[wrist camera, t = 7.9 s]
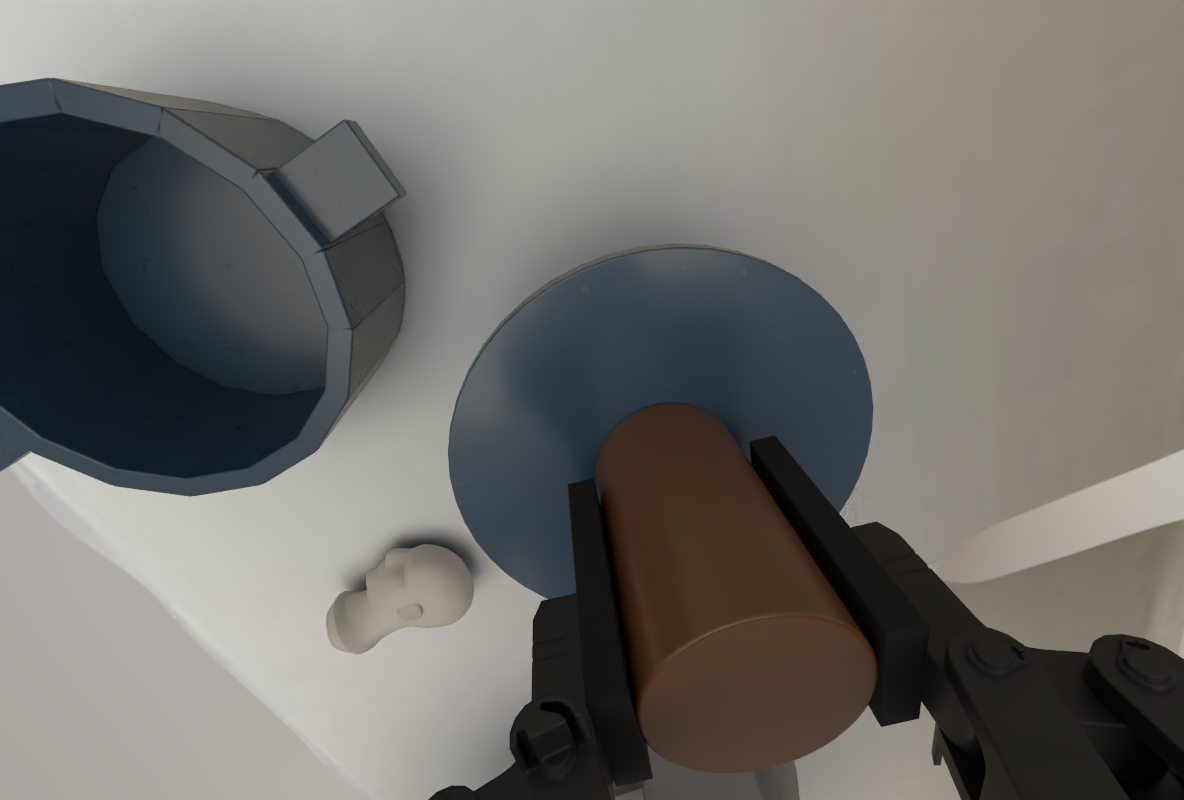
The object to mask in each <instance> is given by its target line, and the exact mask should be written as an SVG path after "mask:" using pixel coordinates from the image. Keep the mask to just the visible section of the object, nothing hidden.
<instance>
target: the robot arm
mask: <svg viewBox="0 0 1184 800" xmlns="http://www.w3.org/2000/svg"><path fill="white" fill-rule="evenodd" d="M749 444H750V455H751V465H752V466H753V468H754V469H755V471H756V472H757V474H758V475H759V477H760V478H761V480H762V481H763V483H764V484H765V486H766V487H767V489H768V490H769V492H770V493H771V495H772V496H773V498H774V499H775V501H776V502H777V504H778V505H779V507H780V508H781V510H782V511H783V513H784V514H785V516H786V517H787V519H788V520H789V522H790V524H791V525H792V527H793V528H794V530H795V531H796V533H797V534H798V536H799V537H800V539H801V540H802V542H803V543H804V545H805V546H806V548H807V549H808V551H809V552H810V554H811V555H812V557H813V558H814V560H815V561H816V563H817V564H818V566H819V567H820V569H821V570H822V572H823V573H824V575H825V576H826V578H827V579H828V581H829V582H830V584H831V585H832V587H833V588H834V590H835V591H836V593H837V594H838V596H839V597H840V599H841V600H842V602H843V603H844V605H845V606H846V608H847V609H848V611H849V612H850V614H851V615H852V617H853V618H854V620H855V621H856V623H857V624H858V626H859V627H860V629H861V630H862V632H863V633H864V635H865V636H866V638H867V639H868V641H869V642H870V644H871V645H872V647H873V649H874V652H875V654H876V657H877V663H878V670H879V671H878V682H877V685H876V689H875V692H874V694H873V696H872V699H871V701H870V702H869V704H868V705H869V707H870V709H871V710H872V712H873V714H874V715H875V717H876V719H877V721H878V722H879V724H880V726H881V727H883V726H888V725H892V724H896V723H901V722H905V721H910V720H914V719H918V718H919V715H920V706H921V701H922V703H923V704H924V705H925V707H926V708H927V710H928V711H929V713H930V714H931V716H932V717H933V719H934V720H935V721H936V724H935V731H934V738H933V745H932V757H933V762H934V765H941V759H942V755H943V757H944V759H945V762H946V764H947V767H948V769H949V771H950V774H951V776H952V779H953V781H954V783H955V786H956V788H957V790H958V793H959V795H960V798H961V800H1184V659H1182V658H1181V657H1179V656H1178V655H1176V654H1175V653H1173V652H1172V651H1170V650H1169V649H1167V648H1165V647H1163V646H1161V645H1158V644H1156V643H1153V642H1151V641H1148V640H1146V639H1143V638H1139V637H1134V636H1129V635H1124V634H1118V635H1105V636H1103V637H1101V638H1099V639H1097V640H1095V641H1094V642H1093V644H1092V647H1091V649H1090V652H1089V653H1084V652H1070V651H1056V650H1043V649H1036V648H1030V647H1026V646H1024V645H1023V644H1021V643H1020V642H1018V641H1017V640H1015V639H1014V638H1012V637H1011V636H1009V635H1007V634H1005V633H1002V632H999V631H997V630H994V629H991V628H987V627H986V626H985V625H983V624H982V623H981V622H980V621H979V620H978V619H977V618H976V617H975V616H974V615H973V614H972V612H971V611H970V610H969V609H968V608H967V607H966V606H965V605H964V604H963V603H962V602H961V601H960V600H959V598H958V597H957V596H956V595H955V594H954V593H953V592H952V591H951V590H950V589H949V588H948V587H947V586H946V584H945V583H944V582H943V581H942V580H941V579H940V578H939V577H938V576H937V575H936V574H935V573H934V572H933V570H932V569H931V568H930V569H929V568H928V566H927V564H926V563H925V562H924V561H923V560H922V559H921V558H920V556H919V555H918V554H917V555H916V554H915V552H914V550H913V549H912V548H911V547H910V546H909V545H908V544H907V542H906V541H905V540H904V539H903V538H902V537H901V536H900V535H899V534H898V533H896V532H894V531H892V530H891V529H889V528H887V527H885V526H884V525H882V524H880V523H878V522H873V523H869V524H864V525H860V526H856V527H851V528H850V527H849V525H848V524H847V523H846V522H845V520H844V519H843V518H842V517H841V515H840V514H839V513H838V512H837V511H836V509H835V508H834V507H833V506H832V504H831V503H830V502H829V501H828V500H827V498H826V497H825V496H824V495H823V493H822V492H821V491H820V490H819V489H818V487H817V486H816V485H815V484H814V482H813V481H812V480H811V479H810V478H809V476H808V475H807V474H806V473H805V471H804V470H803V469H802V468H801V466H800V465H799V464H798V463H797V462H796V460H795V459H794V458H793V457H792V455H791V454H790V453H789V452H788V451H787V449H786V448H785V447H784V446H783V444H782V443H781V442H780V441H779V440H778V438H777V437H776V436H775V435H774V436H770V437H766V438H761V439H757V440H753V441H749ZM568 495H569V508H570V520H571V532H572V544H573V557H574V569H575V581H576V593H574V594H570V595H566V596H561V597H557V598H553V599H548V600H544V601H541V603H540V606H539V608H538V610H537V612H536V615H535V617H534V619H533V647H532V658H533V662H532V701H531V702H530V703H528V704H527V705H525V706H524V708H523V709H522V710H521V711H520V713H519V714H518V715H517V717H516V718H515V720H514V723H513V726H512V728H511V731H510V750H511V752H512V754H513V756H514V758H515V760H516V762H515V763H514V764H513V765H512V766H511V767H510V768H509V769H507V770H506V771H505V772H504V773H502V774H501V775H499V776H498V777H496V778H495V779H493V780H491V781H490V782H488V783H487V784H485V785H483V786H482V787H480V788H479V789H477V790H475V791H472V790H471V789H469V788H467V787H466V786H449V787H447V788H445V789H443V790H440V791H438V792H436V793H435V794H434V795H433V796H432V797H431V798H430V799H428V800H800V798H799V790H798V781H797V773H796V767H795V764H794V760H793V761H791V762H788V763H785V764H782V765H778V766H775V767H771V768H767V769H762V770H757V771H750V772H743V773H709V772H701V771H696V770H691V769H687V768H684V767H681V766H678V765H676V764H674V763H671V762H669V761H667V760H666V759H664V758H662V757H661V756H659V755H658V754H657V753H656V752H655V751H653V750H652V749H651V748H650V746H649V745H648V744H647V743H646V741H645V740H644V738H643V736H642V734H641V732H640V729H639V726H638V722H637V718H636V713H635V707H634V701H633V695H632V689H631V683H630V677H629V671H628V665H627V659H626V653H625V647H624V641H623V636H622V630H621V624H620V618H619V612H618V606H617V600H616V594H615V588H614V582H613V576H612V570H611V564H610V558H609V552H608V546H607V541H606V535H605V529H604V523H603V517H602V511H601V506H600V502H599V499H598V495H597V491H596V487H595V484H594V480H593V478H592V479H588V480H584V481H580V482H576V483H571V484H568Z"/></svg>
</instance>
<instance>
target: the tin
mask: <svg viewBox="0 0 1184 800" xmlns="http://www.w3.org/2000/svg"><path fill="white" fill-rule="evenodd" d="M406 194H407V193H406V191H405V190H404V188H403V187H402V185H401V184H400V183H399V181H398V180H397V178H396V177H395V176H394V174H393V173H392V171H391V170H390V168H389V167H388V166H387V164H386V163H385V161H384V160H383V159H382V157H381V156H380V154H379V153H378V152H377V150H376V149H375V147H374V146H373V145H372V143H371V142H370V140H369V139H368V137H367V136H366V135H365V133H364V132H363V130H362V129H361V128H360V126H359V125H358V123H357V122H356V121H351V120H343V121H341V122H340V123H338V124H337V125H336V126H334V127H333V128H332V129H330V130H329V131H328V132H326V133H325V134H323V135H322V136H321V137H319V138H318V139H317V140H315V141H313V140H312V139H310V138H309V137H307V136H305V135H304V134H302V133H300V132H299V131H297V130H295V129H293V128H291V127H289V126H287V125H286V124H284V123H283V122H280V121H279V120H276V119H273V118H269V117H265V116H262V115H259V114H256V113H253V112H249V111H244V110H239V109H235V108H232V107H228V106H224V105H220V104H217V103H213V102H209V101H203V100H196V99H190V98H183V97H176V96H170V95H163V94H157V93H150V92H143V91H137V90H130V89H124V88H117V87H110V86H104V85H97V84H91V83H84V82H77V81H71V80H64V79H58V78H44V79H37V80H31V81H24V82H18V83H11V84H4V85H0V471H2V470H4V469H6V468H7V467H9V466H11V465H12V464H14V463H16V462H17V461H19V460H20V459H22V458H23V457H25V456H26V455H28V454H29V453H30V452H33V453H35V454H37V455H40V456H42V457H45V458H47V459H49V460H52V461H54V462H57V463H59V464H61V465H64V466H66V467H69V468H71V469H74V470H76V471H78V472H81V473H83V474H86V475H88V476H90V477H93V478H95V479H98V480H100V481H102V482H105V483H107V484H110V485H114V486H118V487H125V488H132V489H140V490H147V491H154V492H162V493H169V494H176V495H184V496H198V495H203V494H209V493H215V492H221V491H227V490H233V489H239V488H245V487H251V486H257V485H261V484H264V483H266V482H267V481H269V480H271V479H272V478H274V477H276V476H277V475H279V474H281V473H282V472H284V471H285V470H287V469H289V468H290V467H292V466H294V465H295V464H297V463H298V462H300V461H302V460H303V459H305V458H307V457H308V456H310V455H312V454H313V453H315V452H316V451H317V450H318V449H319V448H320V446H321V445H322V444H323V442H324V441H325V440H326V438H327V437H328V436H329V434H330V433H331V431H332V430H333V429H334V427H335V426H336V425H337V423H338V422H339V421H340V419H341V418H342V417H343V415H344V414H345V413H346V411H347V410H348V409H349V407H350V406H351V405H352V403H353V402H354V401H355V399H356V398H357V397H358V395H359V394H360V393H361V391H362V390H363V389H364V387H365V386H366V385H367V383H368V382H369V380H370V379H371V378H372V376H373V375H374V374H375V372H376V370H377V369H378V367H379V365H380V364H381V362H382V361H383V359H384V357H385V356H386V355H387V353H388V352H389V350H390V348H391V346H392V345H393V343H394V341H395V340H396V338H397V337H398V334H399V327H400V324H401V320H402V314H403V309H404V295H405V285H404V275H403V268H402V263H401V259H400V255H399V250H398V248H397V245H396V242H395V239H394V237H393V234H392V231H391V229H390V227H389V225H388V223H387V221H386V219H385V217H384V215H383V213H382V211H383V210H384V209H386V208H387V207H389V206H390V205H392V204H393V203H395V202H396V201H398V200H399V199H400V198H402V197H403V196H405V195H406Z"/></svg>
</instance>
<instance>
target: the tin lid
mask: <svg viewBox="0 0 1184 800" xmlns="http://www.w3.org/2000/svg"><path fill="white" fill-rule="evenodd" d="M872 418H873V401H872V392H871V382H870V379H869V375H868V371H867V368H866V364H865V360H864V357H863V355H862V353H861V351H860V348H859V346H858V344H857V342H856V340H855V338H854V335H853V334H852V332H851V331H850V329H849V328H848V327H847V325H846V324H845V322H844V321H843V319H842V318H841V316H840V315H839V313H838V312H837V311H836V310H835V309H834V308H833V307H832V306H831V305H830V304H829V303H828V302H827V301H826V300H825V299H824V298H823V297H822V296H821V295H820V294H819V293H818V292H816V291H815V290H814V289H812V288H811V287H810V286H808V285H807V284H806V283H804V282H803V281H802V280H800V279H799V278H798V277H796V276H794V275H792V274H790V273H788V272H786V271H784V270H782V269H781V268H779V267H777V266H775V265H773V264H771V263H769V262H767V261H765V260H762V259H759V258H756V257H753V256H750V255H748V254H745V253H742V252H739V251H735V250H730V249H724V248H719V247H714V246H708V245H692V244H667V245H656V246H645V247H639V248H635V249H631V250H626V251H622V252H618V253H613V254H609V255H607V256H604V257H601V258H599V259H596V260H593V261H591V262H588V263H585V264H583V265H580V266H578V267H576V268H574V269H572V270H571V271H569V272H567V273H565V274H563V275H561V276H559V277H557V278H556V279H554V280H552V281H550V282H549V283H547V284H546V285H545V286H543V287H542V288H540V289H539V290H538V291H536V292H535V293H533V294H532V295H531V296H529V297H528V298H526V299H525V300H524V301H523V302H522V303H521V304H520V305H519V306H518V307H517V308H515V309H514V310H513V311H512V312H511V313H510V314H509V315H508V316H507V317H506V318H505V319H504V320H503V321H502V322H501V323H500V324H499V326H498V327H497V328H496V329H495V331H494V332H493V333H492V334H491V336H490V337H489V338H488V339H487V341H486V342H485V343H484V344H483V346H482V348H481V349H480V351H479V353H478V355H477V356H476V358H475V360H474V361H473V363H472V365H471V366H470V368H469V370H468V373H467V375H466V378H465V380H464V382H463V385H462V387H461V390H460V392H459V395H458V398H457V401H456V405H455V409H454V413H453V417H452V421H451V426H450V435H449V447H448V458H449V471H450V479H451V483H452V488H453V492H454V496H455V500H456V502H457V505H458V507H459V510H460V512H461V515H462V517H463V520H464V522H465V524H466V525H467V527H468V529H469V530H470V532H471V534H472V535H473V537H474V539H475V540H476V542H477V543H478V544H479V545H480V547H481V548H482V549H483V550H484V552H485V553H486V554H487V555H488V556H489V558H490V559H491V560H492V561H493V562H494V563H496V564H497V565H498V566H499V567H500V568H501V569H502V570H503V571H504V572H505V573H506V574H508V575H509V576H511V577H512V578H513V579H515V580H516V581H518V582H519V583H520V584H522V585H523V586H525V587H526V588H528V589H530V590H532V591H534V592H536V593H538V594H539V595H541V596H543V597H545V598H548V599H553V598H557V597H561V596H566V595H570V594H574V593H576V581H575V569H574V557H573V544H572V532H571V520H570V508H569V495H568V484H571V483H576V482H580V481H584V480H588V479H592V478H593V480H594V484H595V487H596V491H597V495H598V499H599V502H600V506H601V511H602V517H603V523H604V529H605V535H606V541H607V546H608V552H609V558H610V564H611V570H612V576H613V582H614V588H615V594H616V600H617V606H618V612H619V618H620V624H621V630H622V636H623V641H624V647H625V653H626V659H627V665H628V671H629V677H630V683H631V689H632V695H633V701H634V707H635V713H636V718H637V722H638V726H639V729H640V732H641V734H642V736H643V738H644V740H645V741H646V743H647V744H648V745H649V746H650V748H651V749H652V750H653V751H655V752H656V753H657V754H658V755H659V756H661V757H662V758H664V759H666V760H667V761H669V762H671V763H674V764H676V765H678V766H681V767H684V768H687V769H691V770H696V771H701V772H709V773H743V772H750V771H757V770H762V769H767V768H771V767H775V766H778V765H782V764H785V763H788V762H791V761H793V760H796V759H799V758H801V757H803V756H805V755H807V754H810V753H812V752H814V751H816V750H817V749H819V748H821V747H823V746H825V745H826V744H828V743H829V742H831V741H832V740H834V739H835V738H837V737H838V736H839V735H840V734H842V733H843V732H844V731H845V730H847V729H848V728H849V727H850V726H851V725H852V724H853V723H854V722H855V721H856V720H857V719H858V718H859V716H860V715H861V714H862V713H863V712H864V710H865V709H866V707H867V706H868V704H869V702H870V701H871V699H872V696H873V694H874V692H875V689H876V685H877V682H878V671H879V670H878V663H877V657H876V654H875V652H874V649H873V647H872V645H871V644H870V642H869V641H868V639H867V638H866V636H865V635H864V633H863V632H862V630H861V629H860V627H859V626H858V624H857V623H856V621H855V620H854V618H853V617H852V615H851V614H850V612H849V611H848V609H847V608H846V606H845V605H844V603H843V602H842V600H841V599H840V597H839V596H838V594H837V593H836V591H835V590H834V588H833V587H832V585H831V584H830V582H829V581H828V579H827V578H826V576H825V575H824V573H823V572H822V570H821V569H820V567H819V566H818V564H817V563H816V561H815V560H814V558H813V557H812V555H811V554H810V552H809V551H808V549H807V548H806V546H805V545H804V543H803V542H802V540H801V539H800V537H799V536H798V534H797V533H796V531H795V530H794V528H793V527H792V525H791V524H790V522H789V520H788V519H787V517H786V516H785V514H784V513H783V511H782V510H781V508H780V507H779V505H778V504H777V502H776V501H775V499H774V498H773V496H772V495H771V493H770V492H769V490H768V489H767V487H766V486H765V484H764V483H763V481H762V480H761V478H760V477H759V475H758V474H757V472H756V471H755V469H754V468H753V466H752V465H751V455H750V444H749V441H753V440H757V439H761V438H766V437H770V436H774V435H775V436H776V437H777V438H778V440H779V441H780V442H781V443H782V444H783V446H784V447H785V448H786V449H787V451H788V452H789V453H790V454H791V455H792V457H793V458H794V459H795V460H796V462H797V463H798V464H799V465H800V466H801V468H802V469H803V470H804V471H805V473H806V474H807V475H808V476H809V478H810V479H811V480H812V481H813V482H814V484H815V485H816V486H817V487H818V489H819V490H820V491H821V492H822V493H823V495H824V496H825V497H826V498H827V500H828V501H829V502H830V503H831V504H832V506H833V507H834V508H835V509H836V511H837V512H838V513H840V511H841V510H842V508H843V506H844V505H845V503H846V502H847V500H848V499H849V497H850V495H851V493H852V491H853V489H854V487H855V485H856V483H857V481H858V479H859V477H860V474H861V471H862V468H863V465H864V462H865V459H866V456H867V453H868V448H869V443H870V438H871V432H872Z"/></svg>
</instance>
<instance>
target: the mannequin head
mask: <svg viewBox="0 0 1184 800" xmlns="http://www.w3.org/2000/svg"><path fill="white" fill-rule="evenodd" d="M366 587H367V590H365V591H362V592H359V591H345V592H342V593H341V594H339V595H338V597H337V598H336V600H335V601H334V603H333V604H332V606H331V607H330V609H329V611H328V613H327V618H326V626H327V633H328V637H329V640H330V642H331V644H332V645H333V646H334V647H335V648H336V649H338V650H341V651H345V652H349V653H354V654H361V653H364V652H366V651H368V650H370V649H371V648H373V647H374V646H375V645H376V644H377V643H378V642H379V641H380V640H381V639H382V638H383V637H385V636H386V635H388V634H390V633H392V632H394V631H396V630H398V629H401V628H405V627H423V628H432V627H441V626H446V625H449V624H452V623H454V622H456V621H457V620H459V619H460V618H461V617H462V616H463V615H464V614H465V613H466V612H467V611H468V609H469V607H470V605H471V603H472V600H473V594H474V587H473V581H472V577H471V574H470V572H469V570H468V568H467V566H466V565H465V563H464V562H463V561H462V559H461V558H460V557H458V556H457V555H456V554H455V553H453V552H452V551H450V550H448V549H446V548H444V547H440V546H436V545H431V544H422V545H419V546H416V547H414V548H393V549H390V550H389V551H388V552H387V553H386V555H385V559H384V560H382V561H381V563H380V564H379V565H378V566H377V567H376V568H373V569H371V570H370V571H369V572H368V573H367V575H366Z"/></svg>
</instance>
